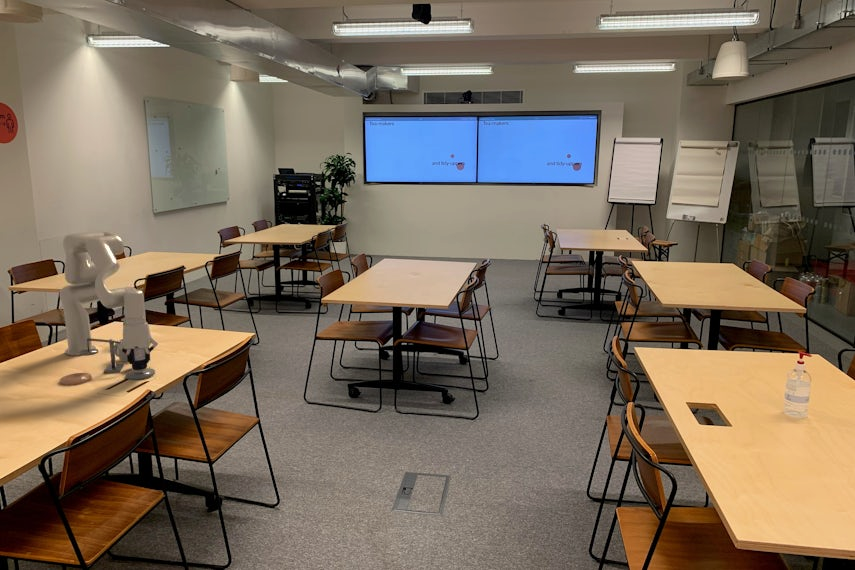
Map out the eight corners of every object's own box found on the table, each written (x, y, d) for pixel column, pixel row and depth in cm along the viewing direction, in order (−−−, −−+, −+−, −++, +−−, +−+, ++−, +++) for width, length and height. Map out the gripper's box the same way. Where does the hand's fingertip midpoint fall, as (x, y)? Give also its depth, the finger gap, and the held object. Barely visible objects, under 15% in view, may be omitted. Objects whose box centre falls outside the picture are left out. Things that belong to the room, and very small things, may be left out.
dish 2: (128, 372, 259) (128, 369, 258) (157, 369, 262) (156, 367, 261) (123, 381, 248) (123, 378, 248) (153, 378, 251) (152, 376, 251)
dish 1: (65, 376, 252) (64, 374, 252) (94, 374, 255) (94, 371, 255) (56, 386, 242) (56, 383, 242) (87, 383, 245) (87, 381, 245)
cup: (131, 362, 270) (129, 343, 268) (109, 361, 271) (107, 342, 269) (140, 357, 277) (138, 338, 275) (119, 356, 278) (117, 337, 276)
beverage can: (149, 367, 257) (147, 339, 255) (144, 371, 252) (141, 343, 249) (135, 367, 257) (133, 339, 255) (129, 371, 252) (127, 343, 249)
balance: (84, 369, 262) (80, 336, 259) (147, 364, 268) (144, 332, 265) (79, 375, 254) (75, 341, 251) (144, 370, 261) (141, 337, 258)
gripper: (110, 324, 244) (114, 367, 248) (157, 321, 249) (160, 364, 253) (114, 319, 251) (118, 361, 255) (159, 317, 256) (163, 358, 260)
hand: (139, 362), depth 254 cm, fingers closed on beverage can, 5 cm apart
